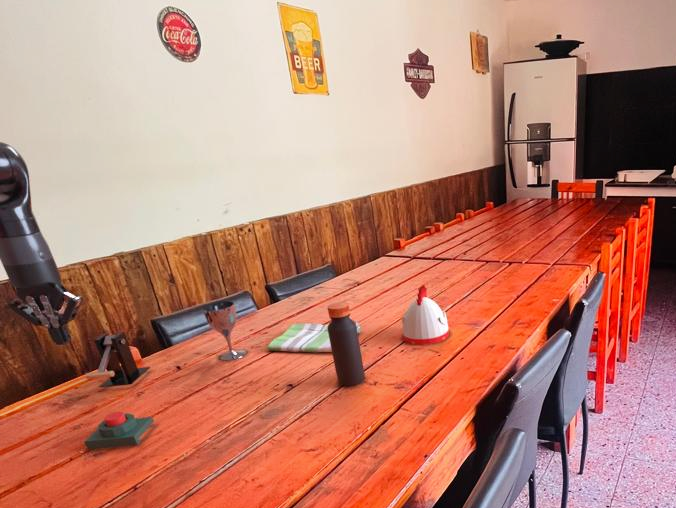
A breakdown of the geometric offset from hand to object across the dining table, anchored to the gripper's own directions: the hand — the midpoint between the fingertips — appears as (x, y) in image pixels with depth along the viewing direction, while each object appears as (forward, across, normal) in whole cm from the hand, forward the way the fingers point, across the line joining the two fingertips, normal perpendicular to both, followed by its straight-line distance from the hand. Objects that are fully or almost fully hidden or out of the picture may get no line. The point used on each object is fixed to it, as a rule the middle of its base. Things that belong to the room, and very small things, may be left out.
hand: (63, 343), depth 103 cm
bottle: (+21, -53, -14) cm, 59 cm away
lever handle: (+14, +8, -23) cm, 28 cm away
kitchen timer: (+20, -72, -41) cm, 85 cm away
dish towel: (+21, -39, -43) cm, 62 cm away
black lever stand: (+22, +8, -27) cm, 35 cm away
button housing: (+21, -6, +3) cm, 22 cm away
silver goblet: (+21, -16, -38) cm, 46 cm away
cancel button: (+18, -6, +3) cm, 19 cm away
